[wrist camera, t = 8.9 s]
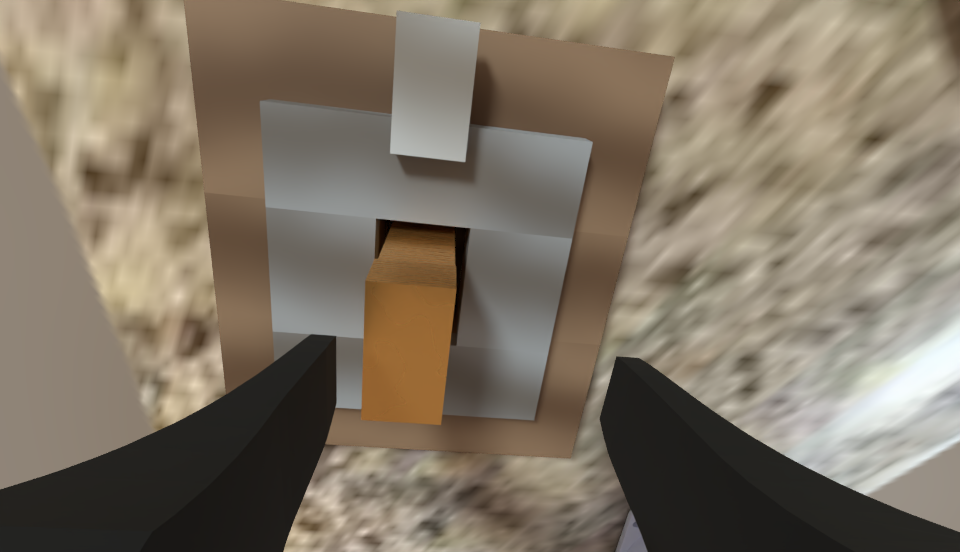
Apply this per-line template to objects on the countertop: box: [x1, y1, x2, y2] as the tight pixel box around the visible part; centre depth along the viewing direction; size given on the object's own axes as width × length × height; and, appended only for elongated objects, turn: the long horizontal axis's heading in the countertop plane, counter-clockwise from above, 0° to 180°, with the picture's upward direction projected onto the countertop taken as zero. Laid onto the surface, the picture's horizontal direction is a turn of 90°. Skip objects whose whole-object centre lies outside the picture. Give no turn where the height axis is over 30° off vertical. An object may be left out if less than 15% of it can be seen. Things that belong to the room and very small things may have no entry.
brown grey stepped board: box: [184, 0, 675, 458], centre depth 19 cm, size 18×16×4 cm
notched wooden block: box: [361, 220, 456, 425], centre depth 17 cm, size 5×2×8 cm, turn 173°
